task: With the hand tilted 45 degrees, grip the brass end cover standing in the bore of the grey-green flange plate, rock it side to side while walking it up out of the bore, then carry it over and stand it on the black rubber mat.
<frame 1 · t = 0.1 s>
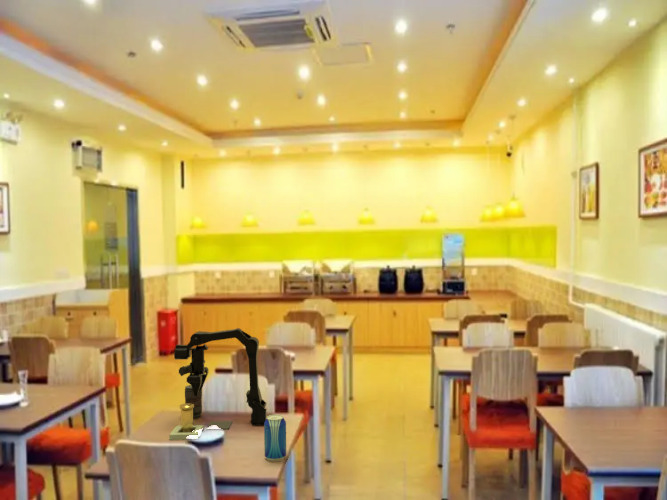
hand: (197, 393, 253), 15 cm above the table, tool pointing down, fingers open, 9 cm apart
brass cover: (186, 420, 239), in the housing
mat: (219, 426, 250), on the table
beer can: (275, 458, 212), on the table
housing: (187, 434, 239), on the table
camera lens: (193, 417, 264), on the table
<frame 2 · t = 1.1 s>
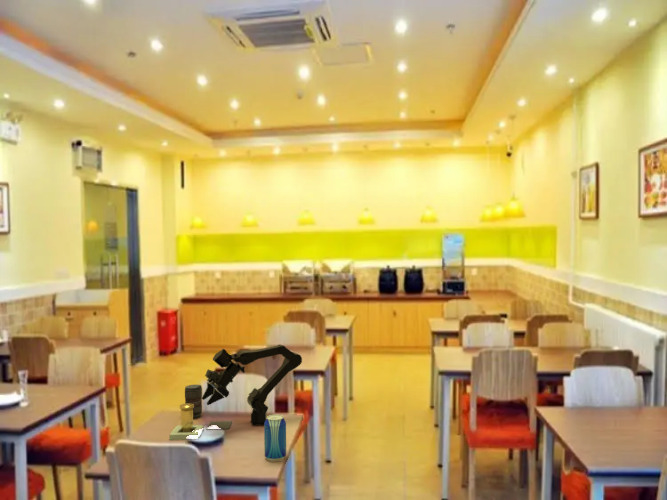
hand: (204, 401, 242), 13 cm above the table, tool tilted 45°, fingers open, 9 cm apart
nothing on the table moved.
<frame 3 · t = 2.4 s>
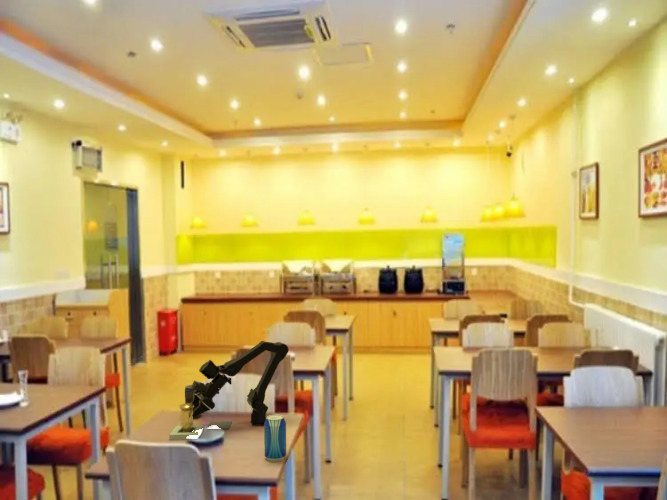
hand: (190, 413, 239), 9 cm above the table, tool tilted 45°, fingers open, 9 cm apart
nothing on the table moved.
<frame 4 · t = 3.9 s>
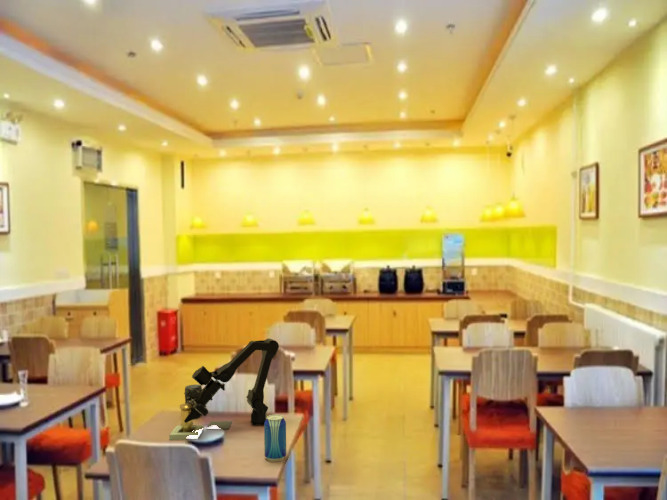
hand: (183, 420, 238), 7 cm above the table, tool tilted 45°, fingers closed on brass cover, 5 cm apart
brass cover: (186, 420, 239), in the housing, touching gripper
everything else where it was.
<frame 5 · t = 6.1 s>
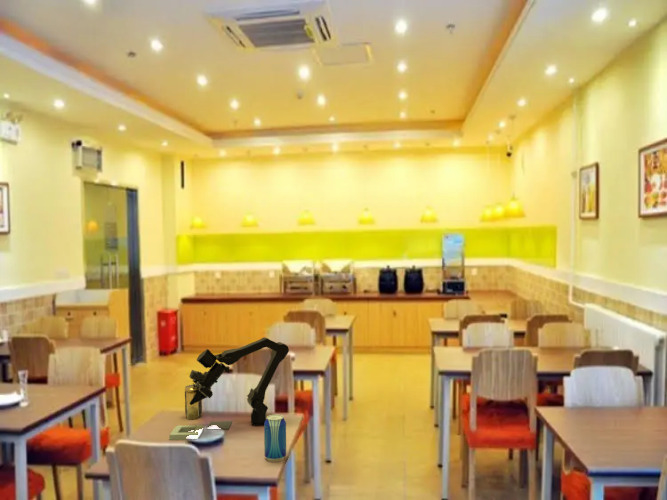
hand: (189, 402, 240), 14 cm above the table, tool tilted 45°, fingers closed on brass cover, 5 cm apart
brass cover: (192, 402, 241), point 14 cm above the table, touching gripper
everything else where it was.
when the fingers open (8 cm above the table, at t = 8.5 s): brass cover stays where it is, resting on mat.
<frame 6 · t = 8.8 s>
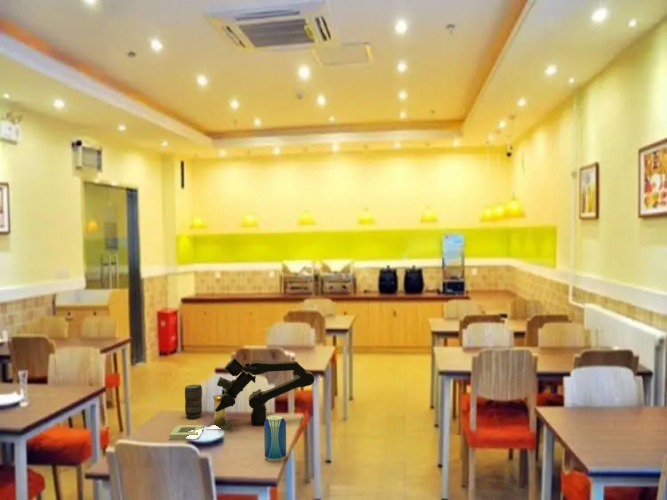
hand: (216, 408, 250), 8 cm above the table, tool tilted 45°, fingers open, 8 cm apart
brass cover: (219, 410, 250), on the mat, point 7 cm above the table
everything else where it was.
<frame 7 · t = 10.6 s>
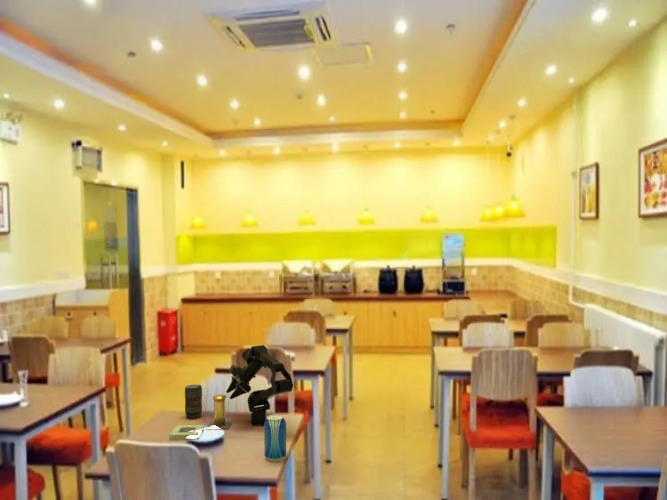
hand: (228, 395, 251), 14 cm above the table, tool tilted 45°, fingers open, 9 cm apart
nothing on the table moved.
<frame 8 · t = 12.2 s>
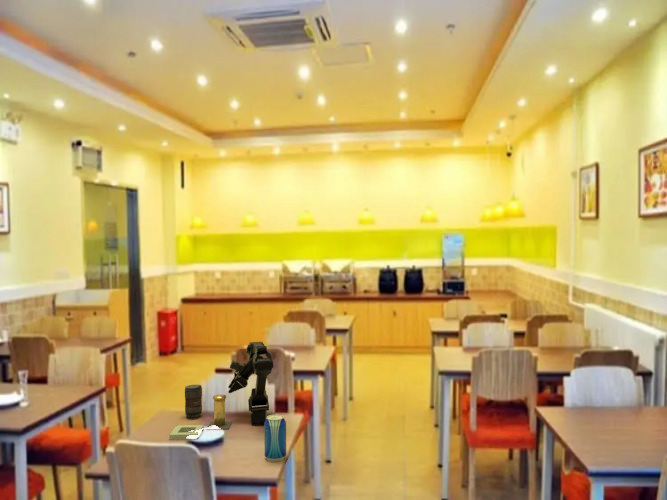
hand: (228, 390, 261), 14 cm above the table, tool tilted 45°, fingers open, 9 cm apart
nothing on the table moved.
at the end: brass cover inside the target area on the mat (0.2 cm from its centre), point 7.2 cm above the mat's base; brass cover tilted 2°; the gripper is holding nothing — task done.
